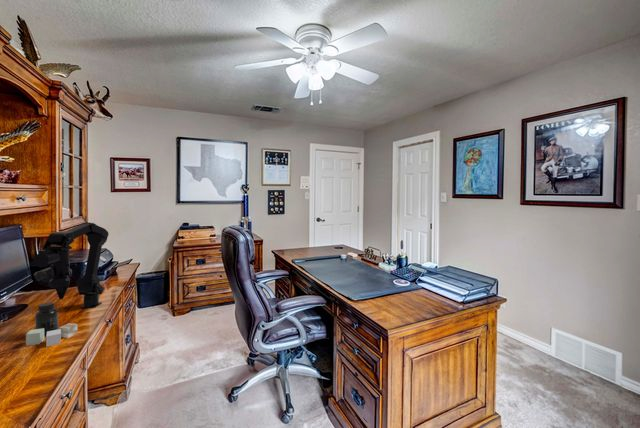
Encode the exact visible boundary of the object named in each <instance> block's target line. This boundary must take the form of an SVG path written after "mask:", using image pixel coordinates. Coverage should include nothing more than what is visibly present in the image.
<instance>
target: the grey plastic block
mask: <svg viewBox="0 0 640 428" xmlns="http://www.w3.org/2000/svg"><path fill="white" fill-rule="evenodd" d="M45 339H46V341H45V342H46V348H47V347H50V346H51V347H53V346H55V345H60V344H61V343H62V337H61V329H59V328H58V330H53V331H47V335H46V336H45Z"/></svg>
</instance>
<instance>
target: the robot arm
mask: <svg viewBox="0 0 640 428" xmlns="http://www.w3.org/2000/svg"><path fill="white" fill-rule="evenodd" d="M84 235H85V236H86V240H87V243H88V244H89V249H88V253H87V254H88V255H87V259H86V266H85V269H84V270H85V271H84V274H83V275H82V277H79V278H78V283H77V285H76V287H77V291H78V295H79V296H83V305H81V306H80V308H81V309H82V308H85V309H87V308H89V309H93V308H96V307H98V306H100V305H101V304H103V302H100V301H99V300H100V295H102V294H103V293H104V287H103V286H102V285H101V284H100V281H101V279H100V278H99V276H98V271H99V264H100V258H101V252H102V247H103V246H104V245H105V243H106V242H107V240H108V237H109V231H107V229H106V228H104V227H101V226H100V225H97V224H96V223H95V222H82V223H81V224H78V225H77V226H74V227H72V228H69V229H67V230H64V231H61V230H60V231H54V232H51V233H50V234H49V235H48V237H46V240H45V242H44V244H43V246H42V248H41V250H38V253H37V254H36V255H34V257H33V259H32V261H33V264H34V265H35V266H36V267H38V268H44V269H41V270H38V271H35V272H34V273H33V276H34V279H35V280H36V281H37V282H41V281H42V280H44V279H47V278H50V280H49V288H51V289H52V288H53V289H54V290H55V292H56V294H57V297H58V298H59V300H64V297H65V295H66V293H67V291H68V289H69V286H70V284H71V283H70V282H71V278H72V275H73V269H72V268H70V267H71V266H70V264H71V261H70V250H72V249H73V247H72V246H71V245H72V244H73V243H74V242H75V239H78V238H79V237H82V236H84ZM48 266H49V267H48Z"/></svg>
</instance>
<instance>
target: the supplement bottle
mask: <svg viewBox="0 0 640 428" xmlns="http://www.w3.org/2000/svg"><path fill="white" fill-rule="evenodd" d="M37 310H38V311H37V312H36V313H35V315H34V320H35V321H34V322H35V327H34V328H35V329H42V328H44V337H46V335H47V331H53V330H58V329H59V311H58V309H57V308H55V302H53V301H51V302H49V301H48V302H44V303H40V304H38V307H37Z"/></svg>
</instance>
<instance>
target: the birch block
mask: <svg viewBox="0 0 640 428" xmlns="http://www.w3.org/2000/svg"><path fill="white" fill-rule="evenodd" d="M58 329H61V338H65V339H69V338H71V337H73V336H75V335H77V334H78V323H66V324H64V325H62V326H58Z"/></svg>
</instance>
